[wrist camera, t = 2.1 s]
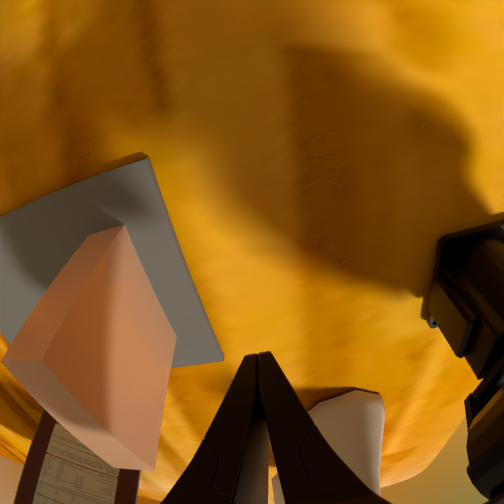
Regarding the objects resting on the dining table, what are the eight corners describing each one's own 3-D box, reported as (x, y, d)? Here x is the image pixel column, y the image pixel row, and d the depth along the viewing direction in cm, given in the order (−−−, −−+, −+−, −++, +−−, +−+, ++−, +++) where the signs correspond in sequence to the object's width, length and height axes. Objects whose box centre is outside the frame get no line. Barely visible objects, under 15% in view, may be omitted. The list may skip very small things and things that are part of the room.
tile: (124, 224, 13) (41, 360, 6) (176, 336, 17) (154, 470, 10) (84, 236, 14) (-5, 360, 7) (140, 341, 17) (108, 467, 10)
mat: (149, 156, 12) (146, 159, 12) (224, 355, 18) (223, 360, 18) (-48, 242, 14) (-52, 245, 13) (35, 370, 20) (33, 374, 19)
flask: (280, 418, 22) (292, 535, 14) (359, 376, 20) (397, 504, 11) (328, 440, 25) (346, 533, 17) (396, 405, 23) (429, 503, 14)
